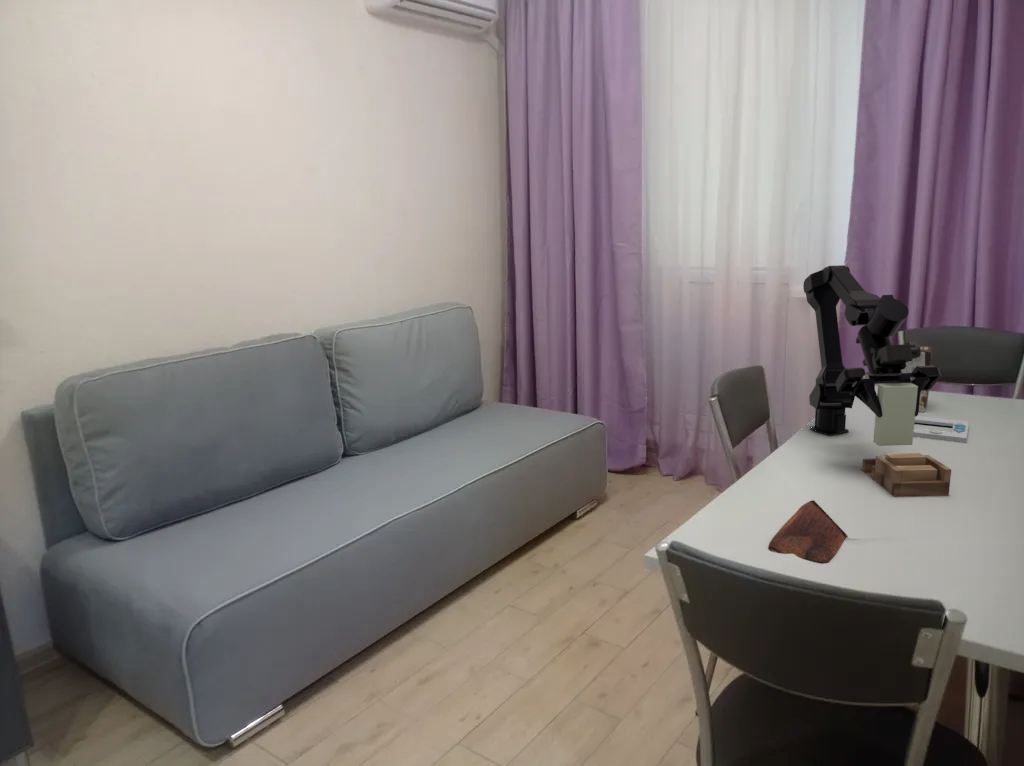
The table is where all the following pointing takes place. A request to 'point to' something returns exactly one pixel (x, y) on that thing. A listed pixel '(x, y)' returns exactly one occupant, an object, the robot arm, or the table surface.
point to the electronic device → (956, 435)
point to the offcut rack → (892, 483)
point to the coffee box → (921, 361)
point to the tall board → (895, 414)
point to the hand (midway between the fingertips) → (898, 416)
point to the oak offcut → (906, 459)
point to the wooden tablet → (809, 535)
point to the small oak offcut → (918, 473)
